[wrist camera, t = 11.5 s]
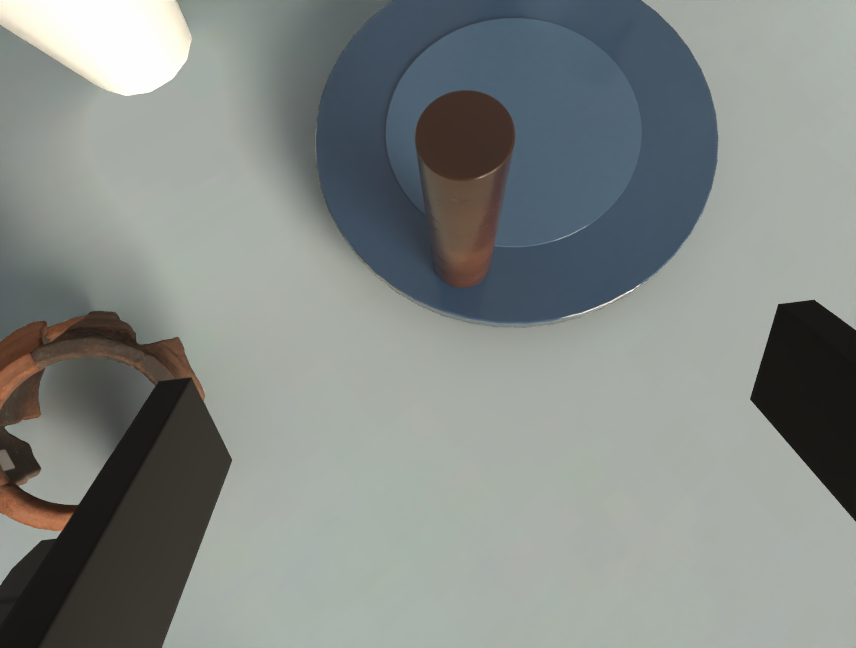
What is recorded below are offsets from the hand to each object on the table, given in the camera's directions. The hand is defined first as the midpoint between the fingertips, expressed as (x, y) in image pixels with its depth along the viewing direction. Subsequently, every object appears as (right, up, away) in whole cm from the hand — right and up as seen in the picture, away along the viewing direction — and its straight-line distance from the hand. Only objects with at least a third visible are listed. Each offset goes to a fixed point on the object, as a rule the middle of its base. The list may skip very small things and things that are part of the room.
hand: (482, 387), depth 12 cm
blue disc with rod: (+3, +11, +13) cm, 17 cm away
